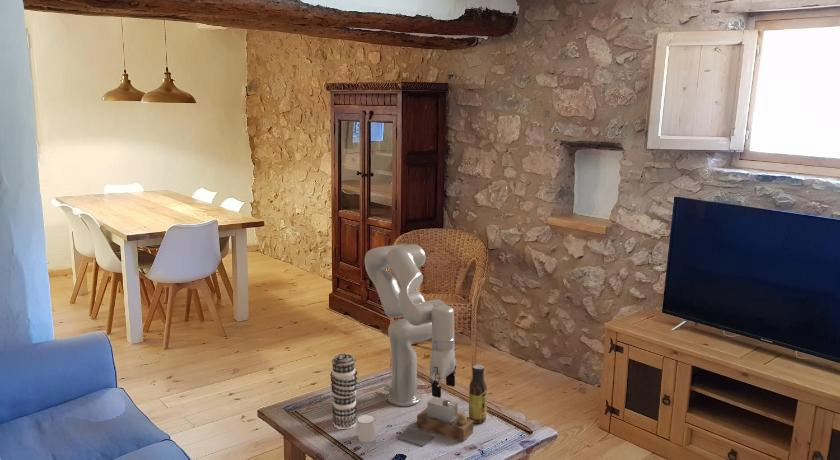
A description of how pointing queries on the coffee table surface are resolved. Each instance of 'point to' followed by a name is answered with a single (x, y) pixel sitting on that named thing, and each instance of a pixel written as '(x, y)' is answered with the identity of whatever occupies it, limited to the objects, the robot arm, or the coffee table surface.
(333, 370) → the model tower building
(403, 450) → the coffee table surface
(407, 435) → the rubber mat
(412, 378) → the robot arm
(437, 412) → the grey box with knob
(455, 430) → the hand plane
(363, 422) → the white cylinder
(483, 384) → the sauce bottle
